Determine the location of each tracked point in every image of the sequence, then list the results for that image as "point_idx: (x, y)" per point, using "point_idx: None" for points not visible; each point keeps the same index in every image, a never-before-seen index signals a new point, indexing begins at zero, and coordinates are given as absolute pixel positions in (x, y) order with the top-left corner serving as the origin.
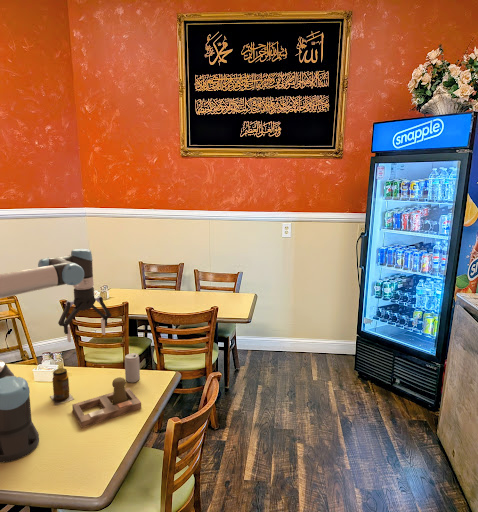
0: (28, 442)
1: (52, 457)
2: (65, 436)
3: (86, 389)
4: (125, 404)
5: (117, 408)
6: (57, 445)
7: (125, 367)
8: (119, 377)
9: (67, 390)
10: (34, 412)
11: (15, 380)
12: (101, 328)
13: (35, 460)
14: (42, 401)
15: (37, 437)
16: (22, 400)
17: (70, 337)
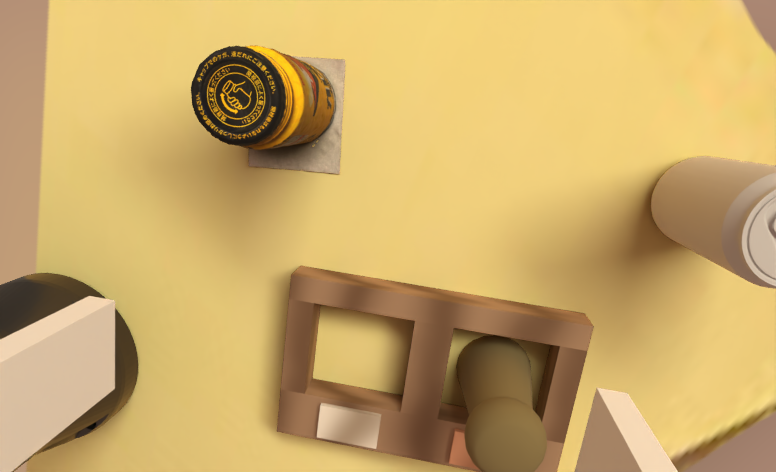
0: (72, 436)
1: None
2: (221, 417)
3: (431, 114)
4: None
5: (440, 452)
6: (184, 444)
7: (692, 210)
8: (525, 434)
9: (308, 138)
10: (158, 159)
11: None
12: (623, 437)
13: (110, 464)
14: None
15: (112, 408)
16: None
17: (62, 428)
